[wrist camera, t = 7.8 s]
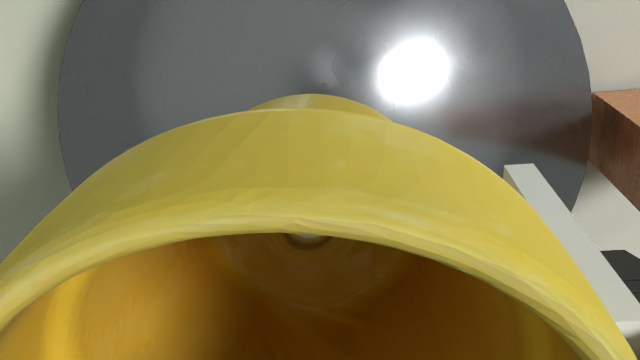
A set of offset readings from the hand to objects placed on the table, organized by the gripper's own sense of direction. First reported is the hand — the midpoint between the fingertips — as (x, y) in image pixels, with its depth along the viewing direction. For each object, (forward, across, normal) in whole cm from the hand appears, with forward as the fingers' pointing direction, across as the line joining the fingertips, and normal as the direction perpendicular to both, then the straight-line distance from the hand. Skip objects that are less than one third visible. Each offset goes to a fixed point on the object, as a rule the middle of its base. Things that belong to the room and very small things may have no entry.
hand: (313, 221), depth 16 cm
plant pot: (+1, 0, 0) cm, 1 cm away
